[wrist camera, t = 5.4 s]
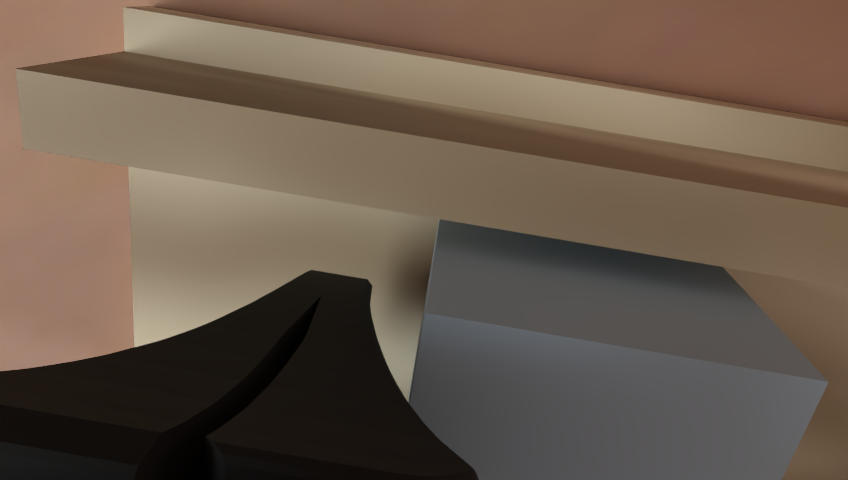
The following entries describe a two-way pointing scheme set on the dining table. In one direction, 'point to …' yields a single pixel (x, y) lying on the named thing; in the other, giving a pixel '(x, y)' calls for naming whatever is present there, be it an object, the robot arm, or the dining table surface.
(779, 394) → the block
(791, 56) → the dining table surface
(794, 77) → the dining table surface
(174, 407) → the robot arm
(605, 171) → the chute
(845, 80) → the dining table surface
